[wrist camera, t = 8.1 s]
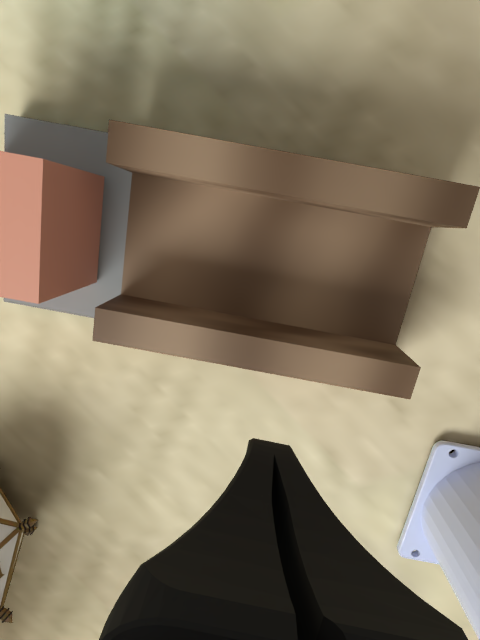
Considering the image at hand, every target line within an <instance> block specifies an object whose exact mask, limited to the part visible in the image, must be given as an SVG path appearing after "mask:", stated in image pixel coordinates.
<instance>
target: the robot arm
mask: <svg viewBox="0 0 480 640" xmlns="http://www.w3.org/2000/svg"><path fill="white" fill-rule="evenodd" d="M451 450H455V451H454V452H453V453H451V454H449V452H450V451H451ZM397 550H398V552H399V554H400V556H402V557H404V558H408V559H414V560H419V561H424V562H430V563H435V564H440V566H441V568H442V570H443V572H444V574H445V576H446V578H447V580H448V581H449V583H450V585H451V587H452V589H453V591H454V593H455V595H456V597H457V599H458V601H459V602H460V604H461V606H462V608H463V610H464V612H465V614H466V616H467V618H468V620H469V621H470V623H471V625H472V627H473V629H474V631H475V633H476V635H477V637H478V639H479V640H480V447H476V446H471V445H465V444H460V443H454V442H449V441H438V442H436V443H435V444H434V446H433V448H432V450H431V453H430V456H429V459H428V461H427V464H426V467H425V470H424V473H423V475H422V478H421V481H420V484H419V486H418V489H417V492H416V495H415V498H414V500H413V503H412V506H411V509H410V511H409V514H408V517H407V520H406V522H405V525H404V528H403V531H402V534H401V536H400V539H399V542H398V545H397ZM414 550H416V551H414ZM99 640H468V639H467V637H466V635H465V633H464V631H463V630H462V628H460V627H459V626H458V625H456V624H455V623H454V622H452V621H451V620H450V619H448V618H447V617H445V616H444V615H443V614H441V613H440V612H439V611H437V610H436V609H435V608H433V607H432V606H430V605H429V604H428V603H426V602H425V601H424V600H422V599H421V598H420V597H418V596H417V595H416V594H415V593H414V592H412V591H411V590H410V589H409V588H408V587H406V586H405V585H404V584H403V583H401V582H400V581H399V580H398V579H397V578H396V577H394V576H393V575H392V574H391V573H390V572H389V571H388V570H387V569H385V568H384V567H383V566H382V565H381V564H380V563H379V562H378V561H377V560H376V559H375V558H374V557H373V556H372V555H371V554H370V553H369V552H368V551H367V550H366V549H365V548H364V547H363V546H362V545H361V544H360V543H359V542H358V541H357V540H356V539H355V538H354V537H353V536H352V535H351V533H350V532H349V531H348V530H347V529H346V528H345V527H344V525H343V524H342V523H341V522H340V521H339V520H338V518H337V517H336V516H335V515H334V513H333V512H332V511H331V509H330V508H329V507H328V505H327V504H326V503H325V501H324V500H323V499H322V497H321V496H320V494H319V493H318V491H317V490H316V488H315V487H314V485H313V484H312V482H311V481H310V479H309V477H308V476H307V474H306V472H305V471H304V469H303V467H302V466H301V464H300V462H299V461H298V459H297V457H296V455H295V454H294V452H293V450H292V448H291V447H290V446H289V445H284V444H279V443H274V442H269V441H264V440H259V439H254V438H253V439H251V440H249V443H248V448H247V452H246V455H245V458H244V460H243V462H242V464H241V466H240V467H239V469H238V471H237V473H236V475H235V476H234V478H233V479H232V481H231V482H230V484H229V485H228V487H227V488H226V490H225V491H224V492H223V494H222V495H221V496H220V498H219V499H218V500H217V501H216V502H215V504H214V505H213V506H212V507H211V508H210V509H209V510H208V511H207V512H206V513H205V515H204V516H203V517H202V518H201V519H200V520H199V521H198V522H197V523H196V524H195V525H194V526H192V527H191V528H190V529H189V530H188V531H187V532H185V533H184V534H183V535H182V536H181V537H179V538H178V539H177V540H176V541H175V542H173V543H172V544H171V545H169V546H168V547H167V548H165V549H164V550H162V551H161V552H159V553H158V554H156V555H155V556H153V557H152V558H150V559H149V560H147V561H146V562H144V563H143V564H141V566H140V567H139V568H138V570H137V571H136V573H135V574H134V575H133V577H132V578H131V580H130V581H129V583H128V584H127V586H126V587H125V589H124V590H123V592H122V593H121V595H120V597H119V598H118V600H117V602H116V604H115V605H114V607H113V609H112V611H111V613H110V615H109V617H108V619H107V621H106V623H105V626H104V628H103V631H102V633H101V636H100V638H99Z"/></svg>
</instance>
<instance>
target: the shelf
mask: <svg viewBox="0 0 480 640" xmlns="http://www.w3.org/2000/svg"><path fill="white" fill-rule="evenodd" d="M107 140H108V133H107V132H102V131H96V130H91V129H85V128H80V127H74V126H69V125H63V124H58V123H52V122H47V121H41V120H36V119H30V118H25V117H19V116H14V115H8V114H5V152H9V153H14V154H20V155H25V156H31V157H36V158H42V159H46V160H49V161H52V162H56V163H59V164H63V165H66V166H70V167H73V168H76V169H80V170H83V171H87V172H90V173H93V174H97V175H100V176H104V191H103V205H102V218H101V232H100V245H99V259H98V273H97V283H94V284H91V285H88V286H86V287H83V288H80V289H78V290H75V291H72V292H69V293H67V294H64V295H61V296H59V297H56V298H53V299H50V300H48V301H45V302H42V303H40V304H36V303H31V302H25V301H20V300H15V299H9V298H4V302H10V303H15V304H20V305H26V306H31V307H37V308H42V309H48V310H53V311H58V312H64V313H69V314H75V315H80V316H86V317H91V318H94V316H95V307H97V306H99V305H101V304H103V303H105V302H107V301H109V300H111V299H113V298H115V297H117V296H118V295H120V294H121V288H122V277H123V266H124V255H125V244H126V233H127V222H128V212H129V201H130V190H131V179H132V172H129V171H127V170H124V169H121V168H119V167H116V166H114V165H111V164H109V163H106V154H107Z"/></svg>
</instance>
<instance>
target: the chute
mask: <svg viewBox="0 0 480 640" xmlns="http://www.w3.org/2000/svg"><path fill="white" fill-rule="evenodd" d="M106 163H109V164H111V165H114V166H116V167H119V168H121V169H124V170H127V171H129V172H132V179H131V190H130V201H129V212H128V222H127V233H126V244H125V255H124V266H123V277H122V288H121V294H120V295H118V296H117V297H115V298H113V299H111V300H109V301H107V302H105V303H103V304H101V305H99V306H97V307H95V316H94V330H93V341H97V342H103V343H108V344H113V345H119V346H124V347H130V348H135V349H141V350H146V351H151V352H157V353H162V354H168V355H173V356H178V357H184V358H189V359H195V360H200V361H205V362H211V363H216V364H222V365H227V366H233V367H238V368H243V369H249V370H254V371H260V372H265V373H270V374H276V375H281V376H287V377H292V378H298V379H303V380H308V381H314V382H319V383H325V384H330V385H335V386H341V387H346V388H352V389H357V390H362V391H368V392H373V393H379V394H384V395H390V396H395V397H400V398H406V399H410V398H411V395H412V392H413V389H414V386H415V383H416V380H417V377H418V374H419V371H420V368H421V367H419V366H418V365H417V364H416V363H415V362H414V361H413V360H412V359H411V358H410V357H408V356H407V355H406V354H405V353H404V352H403V351H402V350H401V349H400V348H398V347H397V346H396V341H397V338H398V335H399V331H400V328H401V325H402V322H403V318H404V315H405V312H406V308H407V305H408V302H409V299H410V295H411V292H412V289H413V285H414V282H415V279H416V276H417V272H418V269H419V266H420V262H421V259H422V256H423V253H424V249H425V246H426V243H427V239H428V236H429V233H430V230H431V227H445V228H467V225H468V222H469V219H470V216H471V213H472V210H473V207H474V204H475V201H476V198H477V195H478V192H479V189H480V187H477V186H472V185H466V184H461V183H455V182H450V181H444V180H439V179H433V178H428V177H422V176H417V175H411V174H406V173H400V172H395V171H389V170H383V169H378V168H372V167H367V166H361V165H356V164H350V163H345V162H339V161H334V160H328V159H323V158H317V157H312V156H306V155H301V154H295V153H290V152H284V151H279V150H273V149H268V148H262V147H257V146H251V145H246V144H240V143H235V142H229V141H224V140H218V139H213V138H207V137H202V136H196V135H191V134H185V133H180V132H174V131H169V130H163V129H158V128H152V127H147V126H141V125H135V124H130V123H124V122H119V121H113V120H109V126H108V140H107V154H106Z"/></svg>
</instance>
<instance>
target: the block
mask: <svg viewBox="0 0 480 640" xmlns="http://www.w3.org/2000/svg"><path fill="white" fill-rule="evenodd" d="M103 191H104V176H100V175H97V174H93V173H90V172H87V171H83V170H80V169H76V168H73V167H70V166H66V165H63V164H59V163H56V162H52V161H49V160H46V159H42V158H36V157H31V156H25V155H20V154H14V153H9V152H3V151H0V297H4V298H9V299H15V300H20V301H25V302H31V303H36V304H40V303H42V302H45V301H48V300H50V299H53V298H56V297H59V296H61V295H64V294H67V293H69V292H72V291H75V290H78V289H80V288H83V287H86V286H88V285H91V284H94V283H97V273H98V259H99V245H100V232H101V218H102V205H103Z"/></svg>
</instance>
